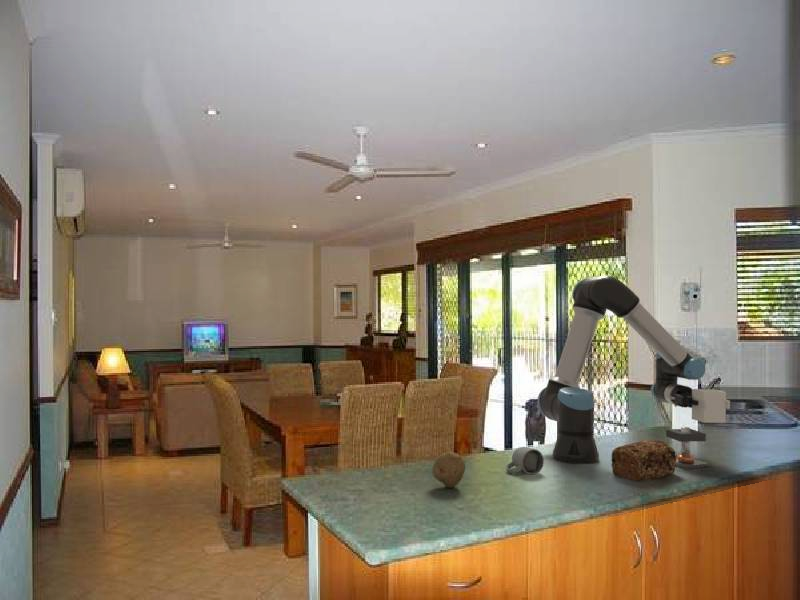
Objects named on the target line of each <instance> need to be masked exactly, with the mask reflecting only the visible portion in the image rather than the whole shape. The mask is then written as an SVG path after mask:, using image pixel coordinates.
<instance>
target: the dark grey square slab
mask: <svg viewBox="0 0 800 600" xmlns="http://www.w3.org/2000/svg"><path fill="white" fill-rule="evenodd" d="M665 436H666V437H667V438H669V439H672V440H674V441H678V442H680V443H681V442H686V441H690V442H706V441H707V434H706V433H705V432H702V431H699V430H696V429H692V428H690V432H688V433H683V432H681V428H671V429H670V428H666V429H665Z"/></svg>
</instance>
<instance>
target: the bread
mask: <svg viewBox="0 0 800 600" xmlns="http://www.w3.org/2000/svg"><path fill="white" fill-rule="evenodd" d="M676 453H677V452H676V450H675V449H674V448H673V447H671V446H670V445H669V444H667V443H666V442H664V441H663V440H662V441H661V440H657V439H647V440H645V439H644V440H641V441H636V442H632V443H628V444H624V445H621V446H618V447H615V448H614V449H613V450H612V451H611V460H610V461H611V469H612V474H613V475H614V476H618V478H626V479H628V480H631V481H635V482H643V481H649V480H652V479H657V478H661V477H666V476H670V475H673V474H674V473H675V471H676V469H675V468H676V466H675V463H676V458H677V454H676ZM648 479H649V480H648Z"/></svg>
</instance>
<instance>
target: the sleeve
mask: <svg viewBox="0 0 800 600" xmlns="http://www.w3.org/2000/svg"><path fill="white" fill-rule="evenodd" d="M693 398H698V399H702V400H706V409H703V408H699V407H695V406H693V405H692V408H691V420H694V421H696V422H700V423H703V424H705V423H707V424H709V423H711V424H713V423H714V424H718V423H719V424H720V423H721V424H724V423H726V421H727V419H726V418H727V417H726V412H727V411H726V410H727V409H726V400H727V391H724V390H718V389H714V388H692V400H693Z"/></svg>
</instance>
